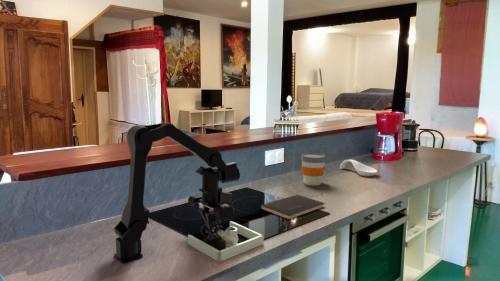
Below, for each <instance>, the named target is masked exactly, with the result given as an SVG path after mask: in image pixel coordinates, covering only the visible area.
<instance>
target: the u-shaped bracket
mask: <svg viewBox="0 0 500 281" xmlns="http://www.w3.org/2000/svg"><path fill="white" fill-rule="evenodd" d="M229 227H235V228H237V229H238V234H239V235H241V236H242V237H245V238H246V239H247V240H245V241H242V242H240V243H238V244H236V245H234V246H231V247H229V248H226V247H225V248H224V249H221V250H219V249H217V248H216V247H214V246H212V245H209V244H208V243H206V242H204V241H202V240H201V239H198V238H197V237H195V236H193V234H192V235H191V234H188V235H187V245H189V246H191V247H192V248H194V249H196V250H197V251H198V252H201V253H203V254H204V255H206V256H208V257H210V258H211V259H213V260H215V261H216V262H218V263H221V262H223V261H225V260H228V259H230V258H232V257H234V256H237V255H240V254H242V253H245V252H247V251H249V250H252V249H255V248H257V247H259V246H262V245H264V241H265V240H264V238H265V236H264V235H263V234H262V233H259V232H257V231H255V230H252V229H250V228H248V227H246V226H243V225H241V224H239V223H237V222H234V221H233V220H232V221H231V220H230V221H229ZM238 234H237V235H238Z"/></svg>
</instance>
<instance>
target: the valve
mask: <svg viewBox="0 0 500 281" xmlns="http://www.w3.org/2000/svg"><path fill="white" fill-rule="evenodd" d="M215 226H216V227H215ZM208 227H209V229H208ZM208 227H207V229H205V233H206V234H208V235H207V237H208V239H212V238H213V239H214V240H216V239H217V237H218V236H220V237H221V240H223V241H225V249H226V248H229V247H231V246H234V245H236V244H239V243H238V241H239V236H238V229H237V228H235V227H230V226H229V227H227V228H226V229H225V230H223V229H224V226H223V225H222V221H221V220H216V219H215V220H213V224H210V223H209V224H208ZM212 232H213V233H212Z"/></svg>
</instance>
